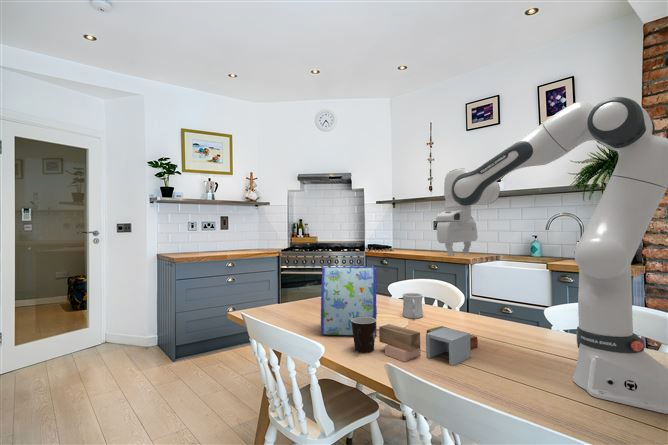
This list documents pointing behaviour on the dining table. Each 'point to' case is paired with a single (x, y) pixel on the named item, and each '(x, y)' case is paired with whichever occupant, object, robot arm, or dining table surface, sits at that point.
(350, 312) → the lunch bag
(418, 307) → the mug
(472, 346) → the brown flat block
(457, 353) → the grey tunnel block
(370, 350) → the coffee mug
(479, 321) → the dining table surface
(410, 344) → the block
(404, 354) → the stand
